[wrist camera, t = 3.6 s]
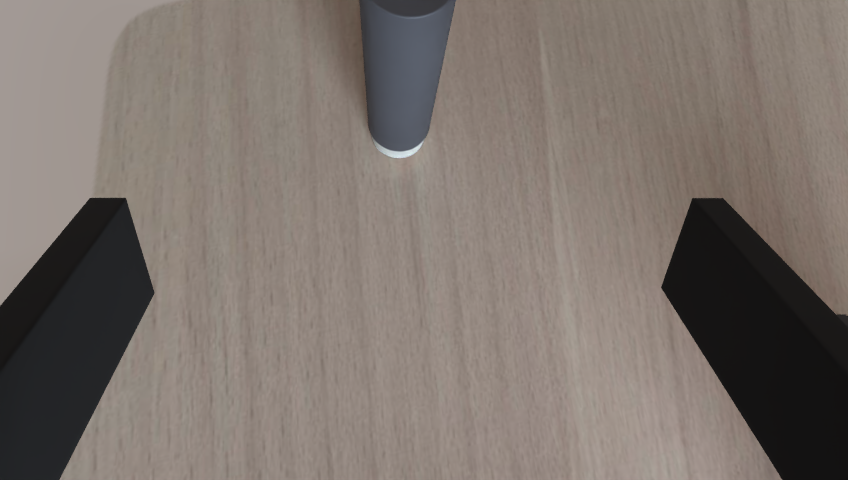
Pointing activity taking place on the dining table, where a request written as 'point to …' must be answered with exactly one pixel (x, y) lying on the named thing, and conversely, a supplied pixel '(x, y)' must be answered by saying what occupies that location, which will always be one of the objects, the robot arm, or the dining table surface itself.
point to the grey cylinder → (402, 68)
